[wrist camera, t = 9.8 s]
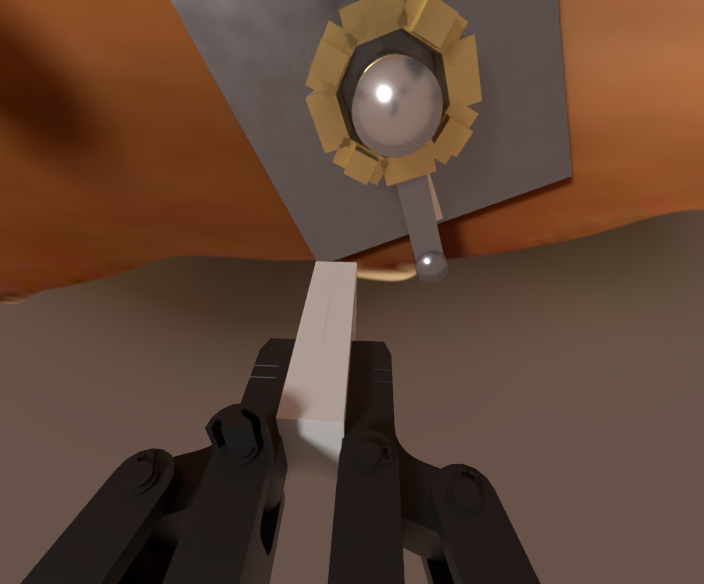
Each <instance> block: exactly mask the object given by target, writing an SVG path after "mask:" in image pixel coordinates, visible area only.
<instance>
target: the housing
mask: <svg viewBox="0 0 704 584" xmlns="http://www.w3.org/2000/svg"><path fill="white" fill-rule="evenodd" d="M357 1H360V0H171V2H172V4H173V6H174V7H175V9H176V11H177V13H178V15H179V16H180V18H181V20H182V22H183V24H184V25H185V27H186V29H187V31H188V32H189V34H190V36H191V38H192V40H193V41H194V43H195V45H196V47H197V49H198V50H199V52H200V54H201V56H202V57H203V59H204V61H205V63H206V65H207V66H208V68H209V70H210V72H211V73H212V75H213V77H214V79H215V81H216V82H217V84H218V86H219V88H220V90H221V91H222V93H223V95H224V97H225V98H226V100H227V102H228V104H229V106H230V107H231V109H232V111H233V113H234V114H235V116H236V118H237V120H238V122H239V123H240V125H241V127H242V129H243V131H244V132H245V134H246V136H247V138H248V139H249V141H250V143H251V145H252V147H253V148H254V150H255V152H256V154H257V156H258V157H259V159H260V161H261V163H262V164H263V166H264V168H265V170H266V172H267V173H268V175H269V177H270V179H271V180H272V182H273V184H274V186H275V188H276V189H277V191H278V193H279V195H280V197H281V198H282V200H283V202H284V204H285V205H286V207H287V209H288V211H289V213H290V214H291V216H292V218H293V220H294V222H295V223H296V225H297V227H298V229H299V230H300V232H301V234H302V236H303V238H304V239H305V241H306V243H307V245H308V246H309V248H310V250H311V252H312V254H313V255H314V257H315V259H316V261H322V262H332V261H335V260H338V259H340V258H343V257H346V256H349V255H352V254H354V253H357V252H360V251H363V250H366V249H369V248H371V247H374V246H377V245H380V244H383V243H385V242H388V241H391V240H394V239H397V238H399V237H402V236H405V235H408V234H409V232H408V228H407V224H406V221H405V217H404V213H403V209H402V205H401V201H400V197H399V194H398V190H397V186H396V184H393V185H390V186H387V184H386V181H385V177H384V174H383V175H382V177H381V179H380V181H379V183H378V184H377V185H375V184H373V183H371V182H370V181H368V182H367V184H366V185H365V184H363V183H361V182H359V181H357V180H355V179H353V178H351V177H349V176H347V175H346V174H344V168H343V167H341V166H339V165H337V164H335V163H333V162H332V161H333V158H334V155H335V151H336V150H334V151H332V152H329V153H326V154H325V152H324V149H323V147H322V144H321V141H320V138H319V135H318V133H317V130H316V127H315V124H314V121H313V119H312V116H311V113H310V110H309V107H308V105H307V102H306V99H305V98H306V97H307V96H308V95H309V94H310V93H311V92H312V91H313V89H312V88H310V87H308V86H306V85H305V84H306V81H307V78H308V76H309V73H310V72H309V71H310V68H311V65H312V62H313V60H314V57H315V54H316V51H317V49H318V46H319V43H320V41H321V39H322V38H323V35H324V32H325V30H326V27H327V24H328V21H332V22H335V23H336V24H338V25H339V26H341V27H343V24H342V21H341V17H340V14H339V9H341V8H343V7H346V6H348V5H350V4H353V3H355V2H357ZM441 1H442V2H444V3H445V4H447V5H448V6H450V7H451V8H453V9H454V10H455V11H457V12H458V15H459V16H461V17H462V18H464V19H465V20H467V21H468V23H467V25H466V27H465V28H464V30H463V32H462V34H475V39H476V49H477V58H478V68H479V77H480V87H481V96H482V101H480V102H477V103H474V104H471V105H468V106H469V107H470V108H471V109H473V110H474V111H476V112H477V113H478V115H477V117H476V119H475V120H474V122H473V123H472V125H471V126H470V129H471V130H472V131H473V133H472V135H471V136H470V138H469V139H468V141H467V142H466V144H465V145H464V147H463V148H462V150H461V151H460V153H459V154H458V156H457V157H455V156H453V155H451V157H450V158H449V160H448V161H447V163H446V164H444V163H442V162H440V161H439V160H437V159H435V158H434V161H435V166H436V172H433V173H429V174H427V178H428V182H429V187H430V192H431V197H432V202H433V207H434V212H435V216H436V221H437V224H439V223H442V222H444V221H447V220H450V219H453V218H456V217H458V216H461V215H464V214H467V213H470V212H473V211H475V210H478V209H481V208H484V207H487V206H489V205H492V204H495V203H498V202H501V201H503V200H506V199H509V198H512V197H515V196H517V195H520V194H523V193H526V192H529V191H532V190H534V189H537V188H540V187H543V186H546V185H548V184H551V183H554V182H557V181H560V180H562V179H565V178H568V177H571V176H572V171H571V158H570V146H569V133H568V120H567V107H566V95H565V82H564V69H563V56H562V44H561V31H560V18H559V5H558V0H441ZM340 89H341V92H342V96H343V99H344V102H345V106H346V109H347V112H348V115H349V119H350V122H351V125H352V127H353V128H355V130H356V132H357V134H358V136H359V138H360V139H361V141H362V142H363V143H364V144H365V145H366V146H367V147H368V148H369V149H370V150H372V151H373V152H375V153H377V154H379V155H382V156H385V157H393V158H395V157H403V156H407V155H410V154H412V153H414V152H416V151H418V150H419V149H421V148H422V147H423V146H424V145H426V143H427V142H428V141H429V140H430V139H431V138H432V136H433V135H434V133H435V131H436V130H437V127H438V125H439V123H440V119H441V115H442V107H443V101H442V93H441V89H440V86H439V83H438V78H437V72H436V66H435V60H434V54H433V52H432V51H431V50H429V49H428V48H426V47H425V46H423V45H422V44H420V43H418V42H417V41H415V40H414V39H412V38H411V37H409V36H408V35H406V34H405V33H403V32H402V31H400V30H395V31H393V32H390V33H388V34H385V35H383V36H380V37H378V38H375V39H373V40H370V41H368V42H365V43H363V44H360V45H358V46H357V48H356V50H355V53H354V55H353V57H352V60H351V62H350V65H349V67H348V69H347V72H346V74H345V76H344V79H343V81H342V84H341V86H340Z"/></svg>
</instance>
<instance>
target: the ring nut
mask: <svg viewBox="0 0 704 584" xmlns="http://www.w3.org/2000/svg"><path fill="white" fill-rule="evenodd" d="M339 14H340V17H341V21H342V24H343V27H341V26H339V25H338V24H336V23H335V22H332V21H328V24H327V27H326V30H325V32H324V35H323V38H322V39H321V41H320V43H319V46H318V49H317V51H316V54H315V57H314V60H313V62H312V65H311V68H310V71H309V72H310V73H309V76H308V78H307V81H306V84H305V85H306V86H308V87H310V88H312V89H313V91H312V92H311V93H310V94H309V95H308V96H307V97H306V98H305V99H306V102H307V105H308V107H309V110H310V113H311V116H312V119H313V121H314V124H315V127H316V130H317V133H318V135H319V138H320V141H321V144H322V147H323V149H324V152H325V154H326V153H329V152H332V151H334V150H336V151H335V155H334V158H333V161H332V162H333V163H335V164H337V165H339V166H341V167H343V168H344V174H346V175H347V176H349V177H351V178H353V179H355V180H357V181H359V182H361V183H363V184H365V185H366V184H367V182H368V181H370V182H371V183H373V184H375V185H377V184H378V183H379V181H380V179H381V177H382V175H383V174H384V177H385V181H386V184H387V186H390V185H393V184H396V186H397V190H398V194H399V197H400V201H401V205H402V209H403V213H404V217H405V221H406V224H407V228H408V232H409V236H410V240H411V244H412V248H413V257H414V262H415V267H416V273H417V276H418V277H419V278H420V279H421V280H422V281H424V282H427V283H434V282H438V281H440V280H442V279H443V278H444V277H445V276H446V275H447V273H448V269H449V266H448V263H447V260H446V257H445V254H444V251H443V248H442V245H441V241H440V236H439V231H438V226H437V221H436V216H435V212H434V207H433V202H432V197H431V192H430V187H429V182H428V178H427V174H429V173H433V172H436V166H435V161H434V158H435V159H437V160H439V161H440V162H442V163H444V164H446V163H447V161H448V160H449V158H450V157H451V155H453V156H455V157H457V156H458V154H459V153H460V151H461V150H462V148H463V147H464V145H465V144H466V142H467V141H468V139H469V138H470V136H471V135H472V133H473V131H472V130H471V129H470V126H471V125H472V123H473V122H474V120H475V119H476V117H477V115H478V113H477V112H476V111H474V110H473V109H471V108H470V107H469V106H468V105H471V104H474V103H477V102H480V101H482V96H481V87H480V77H479V68H478V58H477V49H476V39H475V34H462V32H463V30H464V28H465V27H466V25H467V23H468V21H467V20H465V19H464V18H462V17H461V16H459V15H458V12H457V11H455V10H454V9H453V8H451V7H450V6H448V5H447V4H445V3H444V2H442V1H441V0H360V1H357V2H355V3H353V4H350V5H348V6H346V7H343V8H341V9H339ZM395 30H400V31H402V32H403V33H405V34H406V35H408V36H409V37H411V38H412V39H414V40H415V41H417V42H418V43H420V44H422V45H423V46H425V47H426V48H428V49H429V50H431V51H432V52H433V54H434V60H435V66H436V72H437V78H438V83H439V86H440V89H441V93H442V101H443V107H442V115H441V119H440V123H439V125H438V127H437V130H436V131H435V133H434V135H433V136H432V138H431V139H430V140H429V141H428V142H427V143H426V145H424V146H423V147H422V148H421V149H419V150H418V151H416V152H414V153H412V154H410V155H407V156H403V157H395V158H393V157H385V156H382V155H379V154H377V153H375V152H373V151H372V150H370V149H369V148H368V147H367V146H366V145H365V144H364V143H363V142H362V141H361V139H360V138H359V136H358V134H357V132H356V130H355V128H353V127H352V125H351V122H350V119H349V115H348V112H347V109H346V106H345V102H344V99H343V96H342V92H341V89H340V86H341V84H342V81H343V79H344V76H345V74H346V72H347V69H348V67H349V65H350V62H351V60H352V57H353V55H354V53H355V50H356V48H357V46H358V45H360V44H363V43H365V42H368V41H370V40H373V39H375V38H378V37H380V36H383V35H385V34H388V33H390V32H393V31H395Z"/></svg>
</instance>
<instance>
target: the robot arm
mask: <svg viewBox="0 0 704 584" xmlns="http://www.w3.org/2000/svg"><path fill="white" fill-rule="evenodd" d="M356 282H357V263H355V262H322V261H316V264H315V268H314V272H313V276H312V280H311V283H310V288H309V291H308V295H307V299H306V303H305V307H304V311H303V315H302V319H301V323H300V326H299V330H298V334H297V338H296V339H276V338H275V339H274V338H271V339H270V340H269V341H268V342H267V343H266V344H265V345H264V346H263V347H262V348H261V349H260V351H259V354H258V357H257V359H256V362H255V367H254V368H253V370H252V373H251V378H250V379H249V382H248V384H247V387H246V390H245V393H244V395H243V398H242V401H241V403H240V404H233V405H231V406H228V407H226V408H224V409H222V410H220V411H219V412H218V413H217V414H216V415H214V416H213V417H212V418H211V420H210V421H209V423H208V424H207V426H206V427H205V429H206V431H207V433H208V436H209V438H210V440H211V443H212V445H211V446H209V447H207V448H204V449H201V450H198V451H194V452H190V453H187V454H183V455H179V456H175V457H172V455H171V454H169V453H168V452H166V451H165V450H163V449H154V448H153V449H149V450H144V451H140V452H138V453H137V454H135V455H133V456H131V457H129V458H128V459H127V460H125V461H124V462H123V463H122V464H121V465H120V466H119V467H118V468H117V469H116V470H115V471H114V472H113V474H112V475H111V476H110V477H109V478H108V480H107V481H106V482H105V483H104V484H103V486H102V487H101V488H100V489H99V490H98V492H97V493H96V494H95V495H94V497H93V498H92V499H91V500H90V501H89V502H88V504H87V505H86V506H85V507H84V508H83V510H82V511H81V512H80V513H79V514H78V516H77V517H76V518H75V519H74V520H73V522H72V523H71V524H70V525H69V526H68V527H67V529H66V530H65V531H64V532H63V533H62V535H61V536H60V537H59V538H58V539H57V541H56V542H55V543H54V544H53V546H52V547H51V548H50V549H49V550H48V551H47V553H46V554H45V555H44V556H43V557H42V559H41V560H40V561H39V563H38V564H37V565H36V566H35V567H34V568H33V569H32V571H31V572H30V573H29V574H28V576H27V577H26V578H25V579H24V580H23V581H22V583H21V584H269V582H270V577H271V572H272V567H273V562H274V556H275V551H276V546H277V540H278V535H279V530H280V524H281V519H282V514H283V509H284V499H285V495H284V490H283V488H284V483H285V478H286V473H288V477H289V479H304V480H322V481H337V486H336V497H335V509H334V519H333V530H332V531H333V532H332V542H331V553H330V564H329V575H328V576H329V577H328V584H405V581H404V561H403V548H405V549H407V550H409V551H411V552H413V553H416V554H417V555H420V556H421V559H422V562H423V566H424V569H425V573H426V576H427V580H428V583H429V584H540V582H539V580H538V578H537V576H536V573H535V571H534V569H533V567H532V565H531V563H530V561H529V559H528V557H527V555H526V553H525V551H524V549H523V547H522V545H521V543H520V541H519V539H518V537H517V534H516V532H515V530H514V528H513V526H512V524H511V522H510V520H509V518H508V516H507V514H506V512H505V510H504V508H503V506H502V504H501V502H500V500H499V498H498V495H497V493H496V491H495V489H494V488H493V486H492V485H491V483H490V482H489V481H488V479H487V478H486V477H485V476H484V475H482V474H481V473H480V472H479V471H478V470H476V469H475V468H472V467H470V466H467V465H464V464H451V465H448V466H446V467H444V468H442V469H440V468H437V467H434V466H432V465H430V464H427V463H425V462H422V461H420V460H418V459H416V458H414V457H412V456H411V455H409V454H408V453H407V452H406V451H405V450H404V449H403V447H402V446H401V445H400V443H399V441H398V439H397V437H396V433H395V427H394V405H393V384H392V362H391V353H390V352H389V350H388V348H387V346H386V345H385V343H384V342H374V341H373V342H372V341H355V328H356V285H357V283H356Z"/></svg>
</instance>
